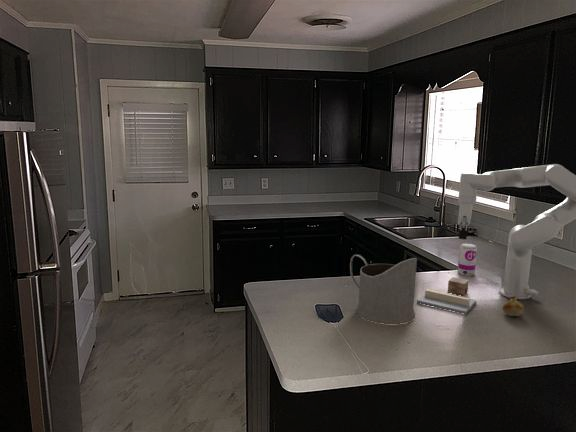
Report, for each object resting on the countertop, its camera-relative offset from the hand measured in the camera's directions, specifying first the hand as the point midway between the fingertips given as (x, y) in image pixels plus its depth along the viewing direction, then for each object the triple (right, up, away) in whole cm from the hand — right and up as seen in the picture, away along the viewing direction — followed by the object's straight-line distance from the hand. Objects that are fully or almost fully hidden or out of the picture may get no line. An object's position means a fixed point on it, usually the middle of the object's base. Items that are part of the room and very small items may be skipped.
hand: (463, 236), depth 217 cm
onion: (+9, -30, -29) cm, 43 cm away
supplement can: (+10, -20, +24) cm, 33 cm away
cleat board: (-14, -27, -17) cm, 35 cm away
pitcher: (-44, -29, -26) cm, 59 cm away
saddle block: (-4, -25, -4) cm, 26 cm away
